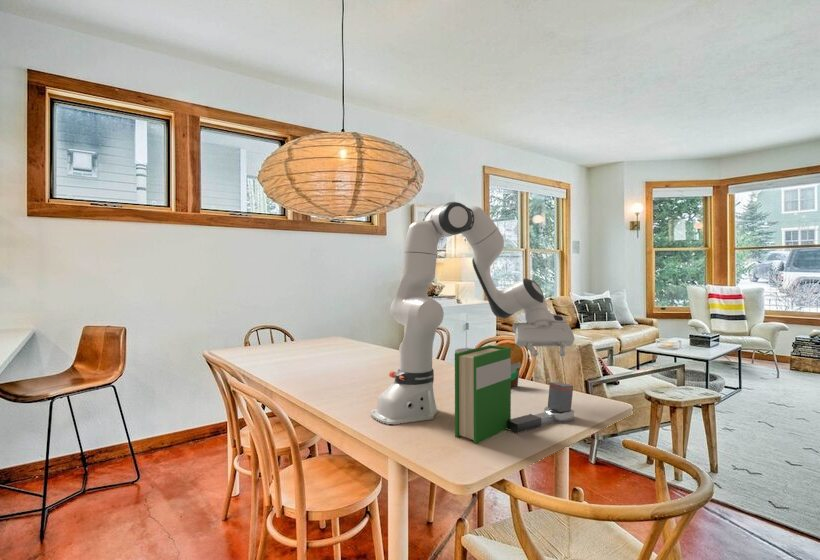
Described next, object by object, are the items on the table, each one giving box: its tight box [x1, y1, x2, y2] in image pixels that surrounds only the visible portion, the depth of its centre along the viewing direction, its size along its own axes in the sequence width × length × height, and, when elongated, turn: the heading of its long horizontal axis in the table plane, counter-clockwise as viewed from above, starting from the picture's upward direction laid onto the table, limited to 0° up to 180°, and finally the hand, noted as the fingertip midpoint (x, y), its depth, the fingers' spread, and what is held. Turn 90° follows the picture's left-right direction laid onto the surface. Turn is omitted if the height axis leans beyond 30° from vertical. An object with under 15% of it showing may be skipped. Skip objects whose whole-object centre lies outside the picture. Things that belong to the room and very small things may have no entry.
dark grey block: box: [547, 381, 574, 412], centre depth 140 cm, size 5×5×8 cm
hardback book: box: [454, 344, 512, 445], centre depth 128 cm, size 18×7×24 cm, turn 136°
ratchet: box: [506, 406, 575, 434], centre depth 135 cm, size 25×9×6 cm, turn 121°
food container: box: [511, 361, 522, 389], centre depth 176 cm, size 12×6×10 cm, turn 70°
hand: (549, 355), depth 148 cm, fingers open, 8 cm apart
